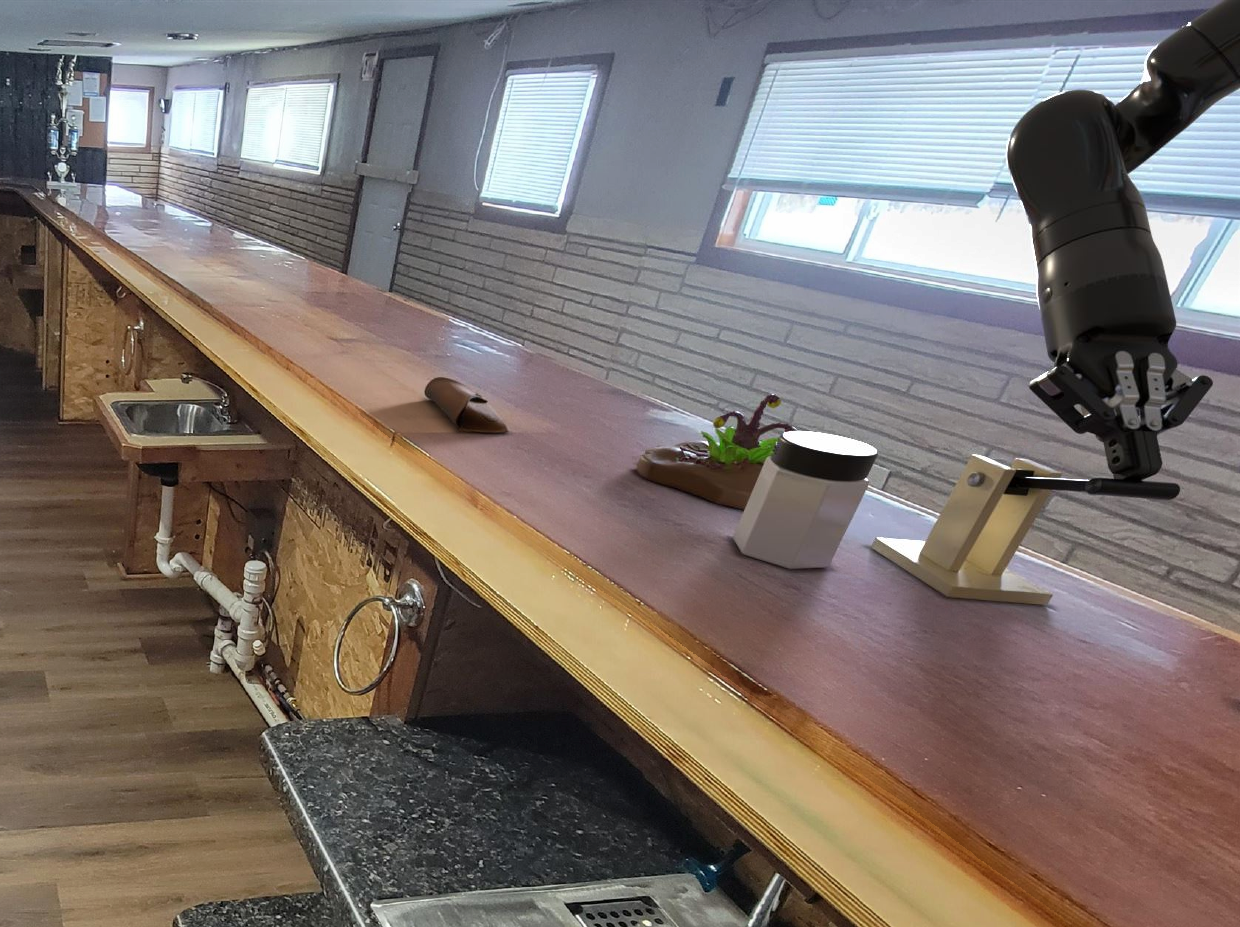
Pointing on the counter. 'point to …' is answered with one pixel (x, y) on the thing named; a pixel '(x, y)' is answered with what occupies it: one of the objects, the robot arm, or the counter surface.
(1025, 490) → the lever
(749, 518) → the jar
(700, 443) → the plant
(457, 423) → the sunglasses case
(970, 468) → the bracket
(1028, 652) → the counter surface
